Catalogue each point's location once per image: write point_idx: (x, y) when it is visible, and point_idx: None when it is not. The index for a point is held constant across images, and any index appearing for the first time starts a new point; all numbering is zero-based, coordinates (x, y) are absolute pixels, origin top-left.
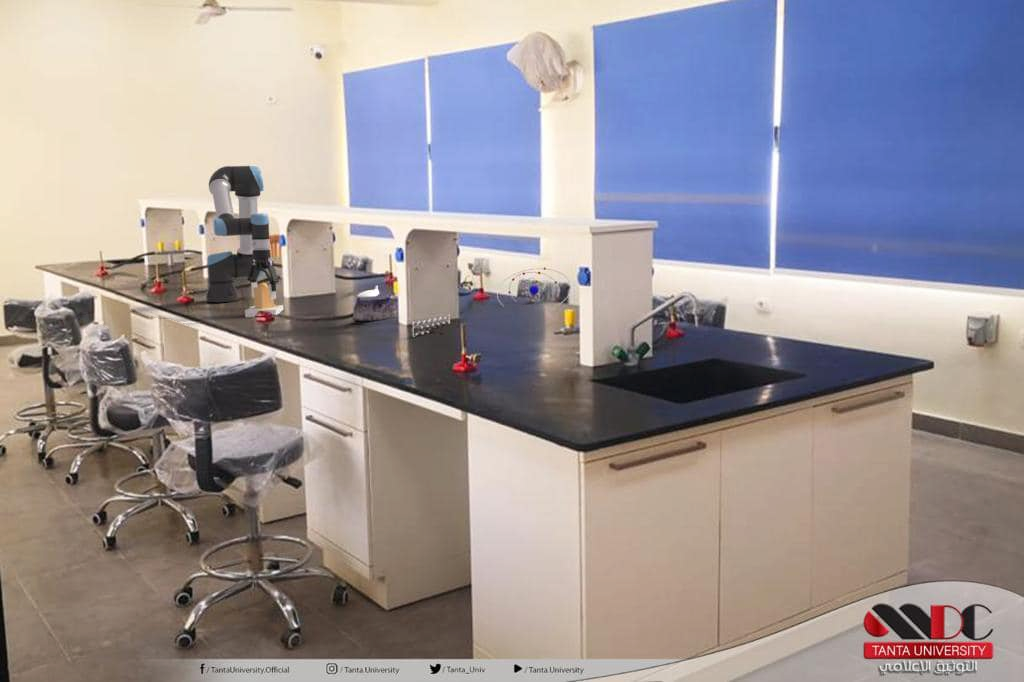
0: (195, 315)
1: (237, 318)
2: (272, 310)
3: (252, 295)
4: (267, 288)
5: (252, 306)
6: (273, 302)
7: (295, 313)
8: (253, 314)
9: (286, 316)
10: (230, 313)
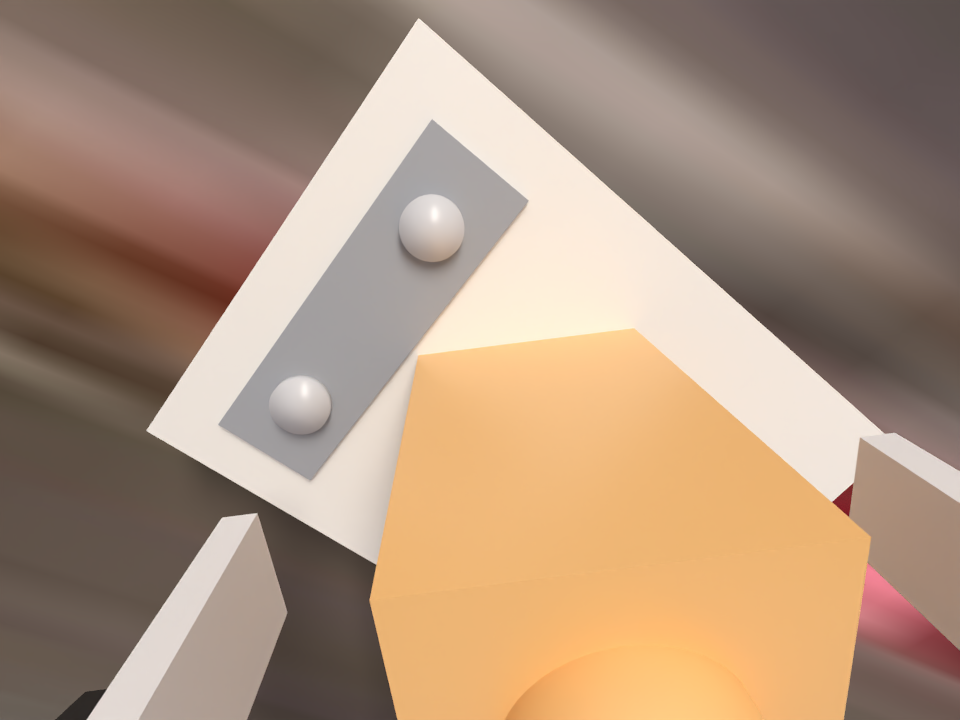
0: None
1: None
2: (853, 469)
3: (264, 645)
4: (825, 685)
5: (228, 478)
6: (663, 362)
7: (769, 25)
8: None
9: (931, 307)
10: (89, 599)
